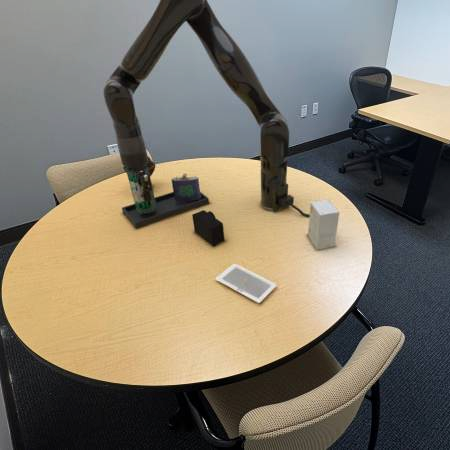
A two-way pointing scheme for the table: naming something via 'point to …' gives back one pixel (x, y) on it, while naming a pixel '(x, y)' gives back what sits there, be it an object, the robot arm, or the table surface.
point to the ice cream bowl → (150, 166)
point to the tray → (161, 210)
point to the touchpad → (246, 282)
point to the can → (140, 192)
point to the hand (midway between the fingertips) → (143, 196)
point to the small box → (323, 224)
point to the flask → (186, 189)
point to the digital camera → (208, 227)
